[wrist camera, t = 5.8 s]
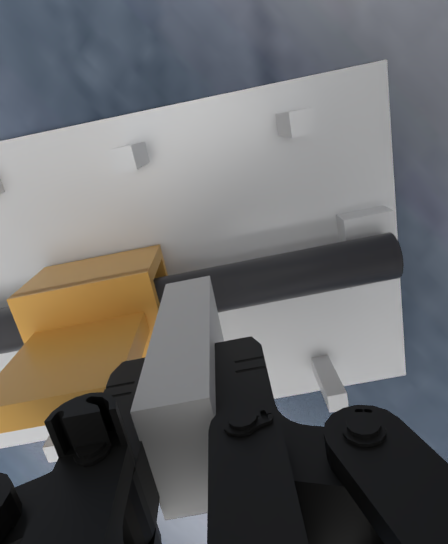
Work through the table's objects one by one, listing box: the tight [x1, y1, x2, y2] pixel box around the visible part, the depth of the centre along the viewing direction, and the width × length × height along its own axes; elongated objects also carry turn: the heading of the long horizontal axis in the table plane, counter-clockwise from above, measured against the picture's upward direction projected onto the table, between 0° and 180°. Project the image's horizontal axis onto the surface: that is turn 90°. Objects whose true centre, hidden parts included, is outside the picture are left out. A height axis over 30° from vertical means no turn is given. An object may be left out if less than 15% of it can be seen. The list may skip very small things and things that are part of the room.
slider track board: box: [0, 59, 406, 463], centre depth 17 cm, size 26×14×6 cm, turn 101°
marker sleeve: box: [0, 244, 168, 434], centre depth 15 cm, size 5×4×8 cm
